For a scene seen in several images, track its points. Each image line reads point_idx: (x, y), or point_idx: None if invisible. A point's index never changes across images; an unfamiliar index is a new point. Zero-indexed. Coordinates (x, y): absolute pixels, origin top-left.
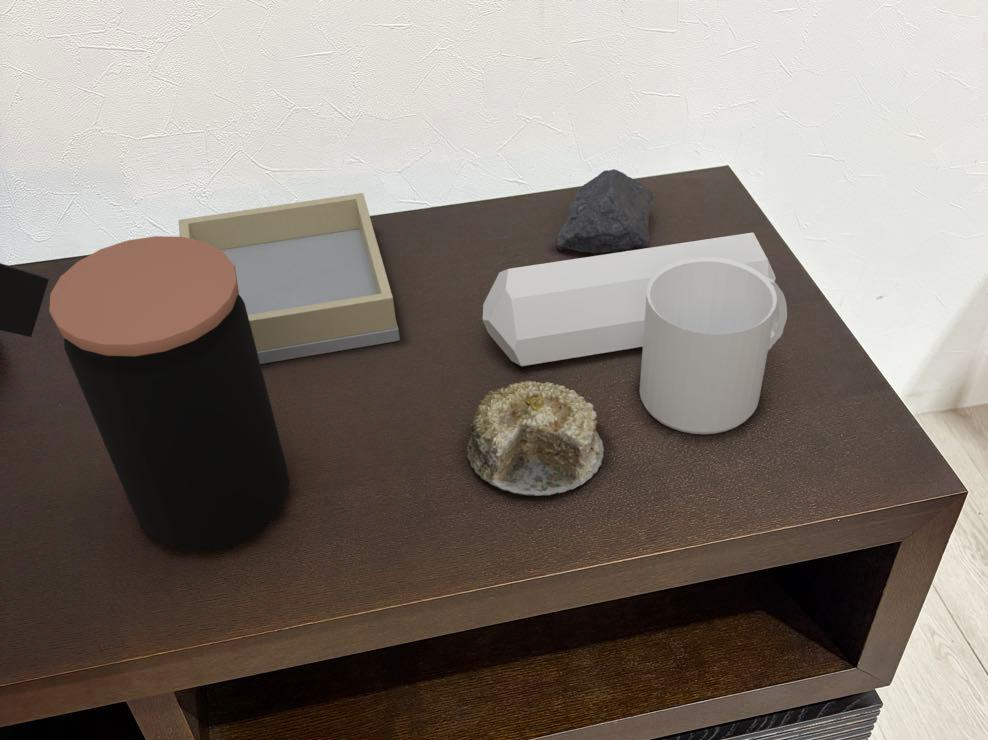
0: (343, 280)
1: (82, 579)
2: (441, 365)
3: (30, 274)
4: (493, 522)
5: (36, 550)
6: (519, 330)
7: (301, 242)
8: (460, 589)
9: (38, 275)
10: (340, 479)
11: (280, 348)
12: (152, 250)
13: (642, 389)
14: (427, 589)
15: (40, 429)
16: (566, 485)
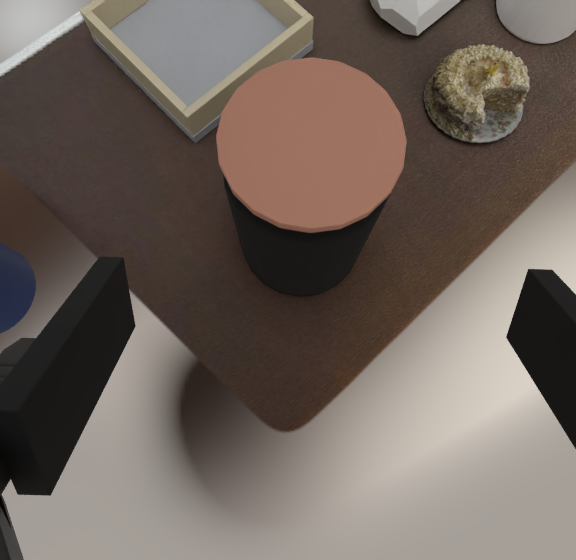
0: (237, 12)
1: (264, 347)
2: (357, 58)
3: (568, 287)
4: (487, 169)
5: (212, 342)
6: (420, 8)
7: None
8: (505, 229)
9: (549, 275)
10: None
11: None
12: (275, 90)
13: (514, 21)
14: (486, 239)
15: (121, 245)
16: (514, 120)
